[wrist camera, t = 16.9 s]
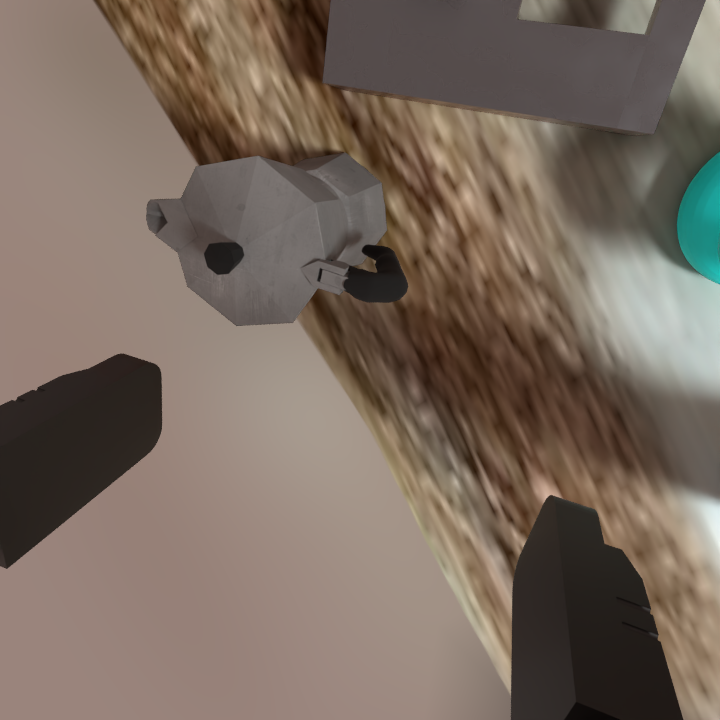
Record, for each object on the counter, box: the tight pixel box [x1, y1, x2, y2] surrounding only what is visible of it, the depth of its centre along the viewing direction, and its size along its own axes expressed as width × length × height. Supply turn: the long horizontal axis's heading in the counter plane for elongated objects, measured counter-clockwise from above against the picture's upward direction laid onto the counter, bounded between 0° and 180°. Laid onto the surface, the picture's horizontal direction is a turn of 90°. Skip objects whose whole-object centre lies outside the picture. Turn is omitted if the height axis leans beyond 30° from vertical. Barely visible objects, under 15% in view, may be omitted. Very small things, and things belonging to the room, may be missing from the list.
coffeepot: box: [146, 153, 408, 326], centre depth 31 cm, size 15×9×18 cm, turn 76°
